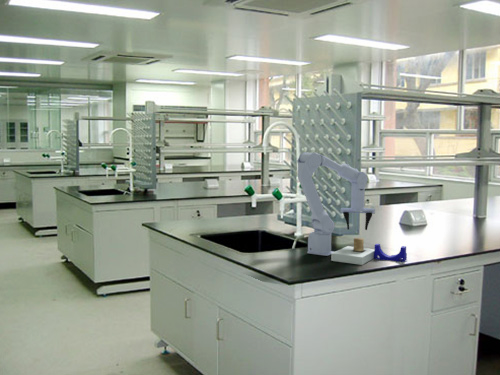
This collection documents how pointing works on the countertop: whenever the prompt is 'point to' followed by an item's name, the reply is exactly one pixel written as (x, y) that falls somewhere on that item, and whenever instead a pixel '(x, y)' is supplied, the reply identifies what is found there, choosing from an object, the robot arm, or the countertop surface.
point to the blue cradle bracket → (399, 257)
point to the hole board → (352, 255)
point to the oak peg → (358, 245)
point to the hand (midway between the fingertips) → (357, 229)
